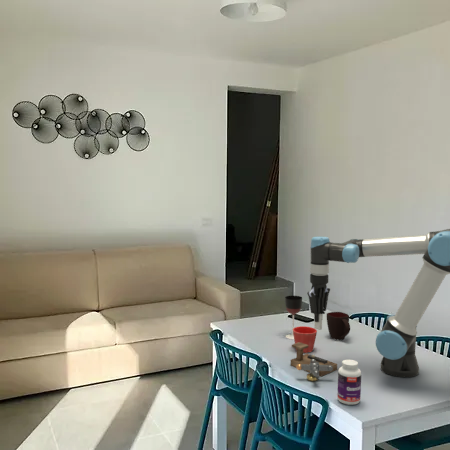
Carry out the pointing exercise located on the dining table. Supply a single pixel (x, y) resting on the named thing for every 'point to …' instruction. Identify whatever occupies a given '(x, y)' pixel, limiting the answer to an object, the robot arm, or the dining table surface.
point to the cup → (338, 325)
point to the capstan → (314, 369)
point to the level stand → (309, 359)
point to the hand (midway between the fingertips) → (318, 328)
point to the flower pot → (305, 337)
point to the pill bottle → (349, 383)
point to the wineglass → (293, 309)
